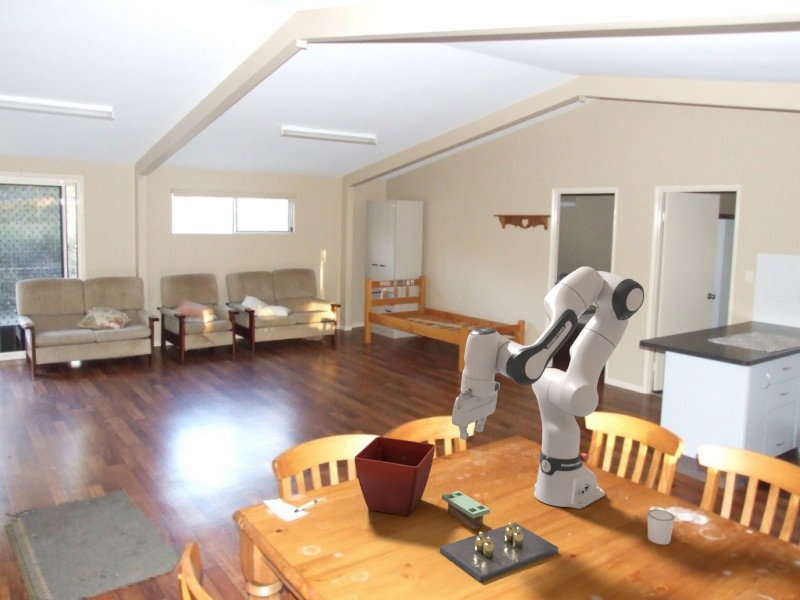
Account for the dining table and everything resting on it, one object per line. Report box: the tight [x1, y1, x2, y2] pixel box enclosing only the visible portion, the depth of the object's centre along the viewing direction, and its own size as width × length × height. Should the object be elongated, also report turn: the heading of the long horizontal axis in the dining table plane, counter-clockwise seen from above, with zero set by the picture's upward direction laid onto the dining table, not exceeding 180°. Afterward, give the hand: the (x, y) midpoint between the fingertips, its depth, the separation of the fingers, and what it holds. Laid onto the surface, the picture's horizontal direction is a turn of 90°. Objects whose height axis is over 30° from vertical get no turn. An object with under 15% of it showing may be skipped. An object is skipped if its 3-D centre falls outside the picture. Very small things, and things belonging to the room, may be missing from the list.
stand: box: [447, 503, 484, 530], centre depth 189 cm, size 3×12×4 cm, turn 33°
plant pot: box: [354, 436, 436, 517], centre depth 196 cm, size 19×19×17 cm
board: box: [441, 490, 491, 518], centre depth 188 cm, size 14×6×1 cm, turn 33°
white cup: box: [646, 509, 675, 545], centre depth 179 cm, size 7×7×7 cm
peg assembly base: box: [439, 521, 559, 583], centre depth 170 cm, size 26×16×6 cm, turn 123°
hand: (471, 435), depth 184 cm, fingers open, 8 cm apart
